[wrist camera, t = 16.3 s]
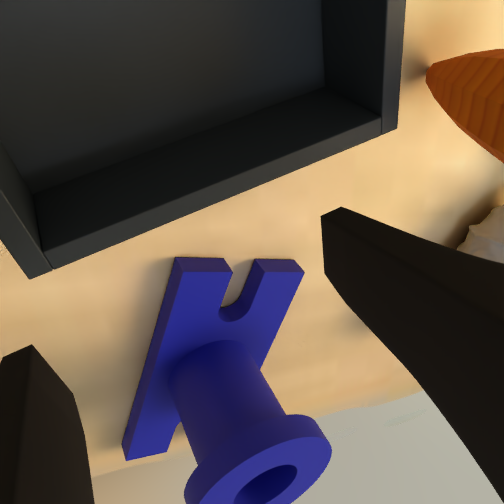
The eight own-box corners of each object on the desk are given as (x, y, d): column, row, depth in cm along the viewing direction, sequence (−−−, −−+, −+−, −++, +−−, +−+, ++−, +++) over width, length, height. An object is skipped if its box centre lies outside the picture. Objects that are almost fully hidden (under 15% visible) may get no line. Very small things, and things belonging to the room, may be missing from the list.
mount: (221, 423, 33) (276, 543, 27) (121, 444, 29) (158, 590, 23) (294, 259, 26) (389, 370, 20) (175, 257, 22) (248, 394, 16)
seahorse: (513, 67, 23) (387, 369, 31) (676, 113, 26) (524, 382, 33) (458, 64, 28) (360, 328, 36) (601, 104, 31) (482, 342, 38)
